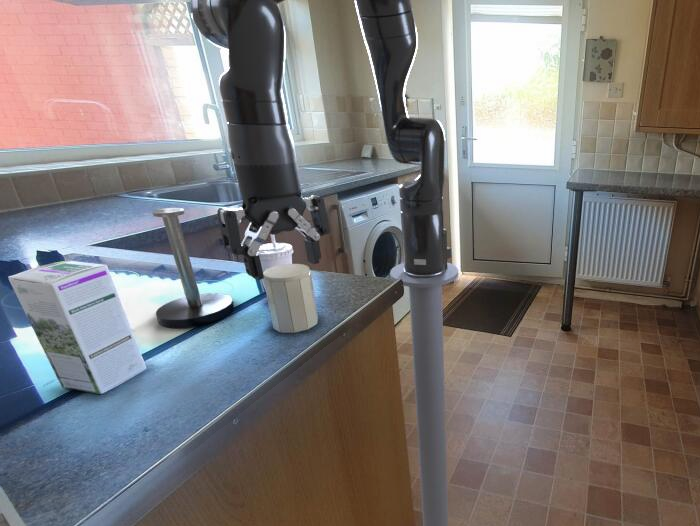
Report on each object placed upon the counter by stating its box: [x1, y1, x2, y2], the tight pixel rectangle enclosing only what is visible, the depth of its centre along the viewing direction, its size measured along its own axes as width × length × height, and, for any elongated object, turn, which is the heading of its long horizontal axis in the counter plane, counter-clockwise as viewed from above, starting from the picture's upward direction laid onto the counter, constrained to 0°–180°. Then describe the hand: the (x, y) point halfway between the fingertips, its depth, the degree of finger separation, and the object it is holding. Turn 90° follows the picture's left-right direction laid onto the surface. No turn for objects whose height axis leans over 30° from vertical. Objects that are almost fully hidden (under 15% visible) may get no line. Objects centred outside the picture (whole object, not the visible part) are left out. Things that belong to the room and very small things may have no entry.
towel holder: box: [152, 207, 235, 329], centre depth 63 cm, size 10×10×17 cm
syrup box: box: [7, 260, 147, 395], centre depth 47 cm, size 6×6×14 cm
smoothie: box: [257, 234, 294, 292], centre depth 70 cm, size 6×6×14 cm
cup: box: [263, 263, 319, 334], centre depth 63 cm, size 6×6×9 cm
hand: (287, 270), depth 62 cm, fingers open, 8 cm apart
